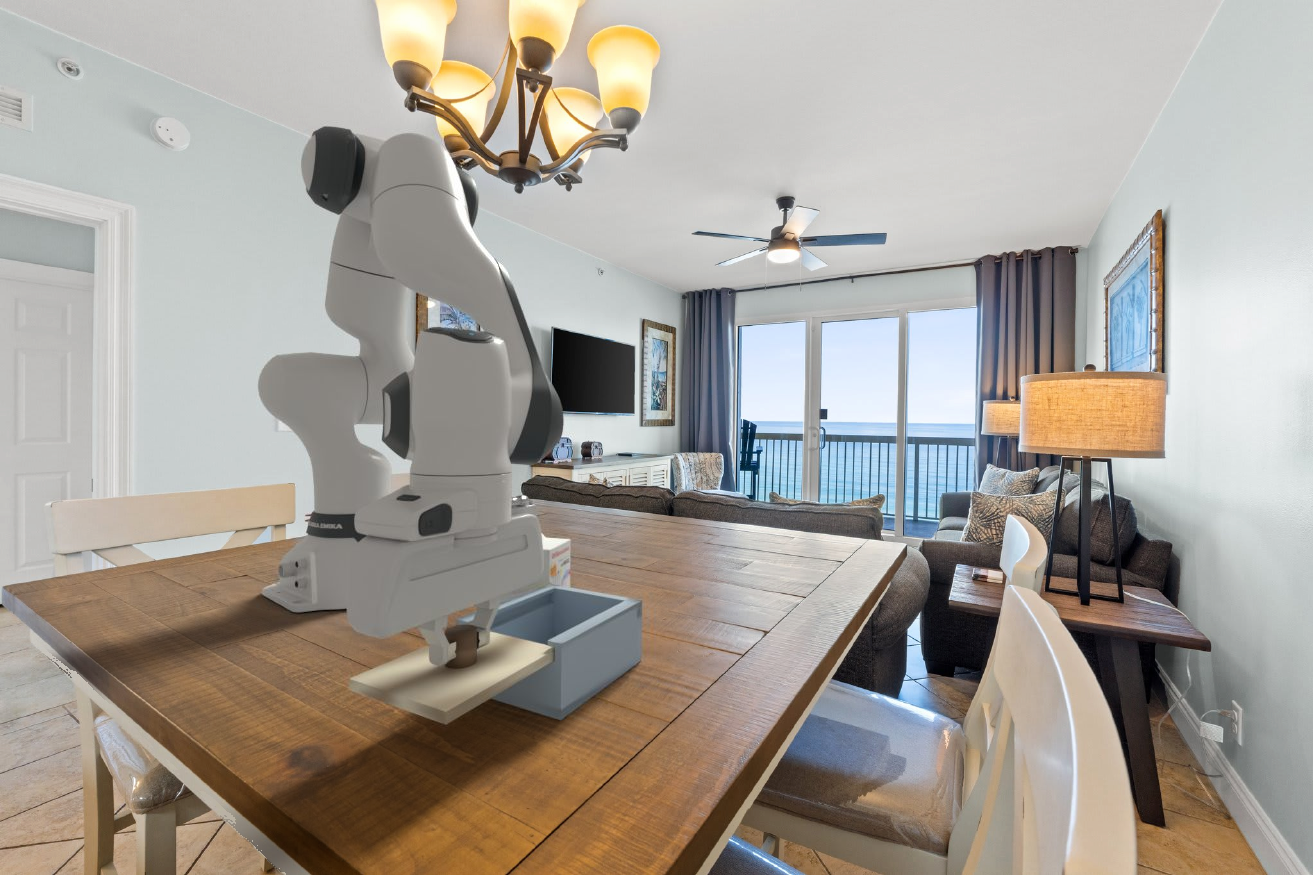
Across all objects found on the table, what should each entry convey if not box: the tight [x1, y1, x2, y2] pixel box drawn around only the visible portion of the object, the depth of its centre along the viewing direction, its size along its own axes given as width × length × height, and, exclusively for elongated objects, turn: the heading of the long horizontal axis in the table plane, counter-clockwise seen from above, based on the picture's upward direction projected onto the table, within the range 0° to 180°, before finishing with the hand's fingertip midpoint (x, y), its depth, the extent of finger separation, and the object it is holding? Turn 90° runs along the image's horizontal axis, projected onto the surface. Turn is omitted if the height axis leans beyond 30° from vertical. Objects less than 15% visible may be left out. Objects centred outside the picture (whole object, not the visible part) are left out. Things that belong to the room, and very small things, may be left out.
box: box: [455, 584, 643, 721], centre depth 65 cm, size 14×16×7 cm
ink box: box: [500, 532, 572, 602], centre depth 81 cm, size 9×8×13 cm
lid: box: [348, 624, 555, 725], centre depth 52 cm, size 12×14×4 cm
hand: (460, 654), depth 52 cm, fingers closed on lid, 3 cm apart
